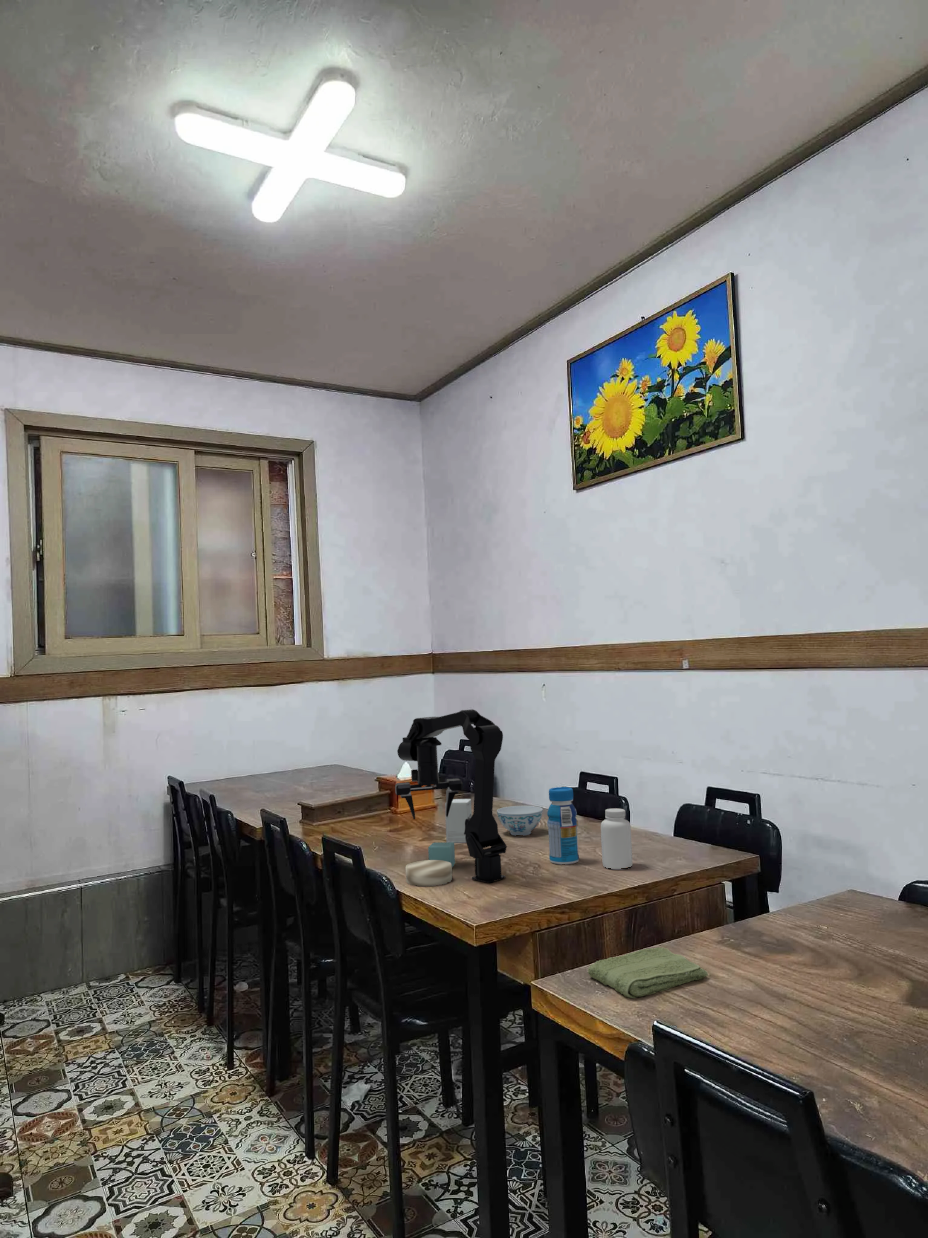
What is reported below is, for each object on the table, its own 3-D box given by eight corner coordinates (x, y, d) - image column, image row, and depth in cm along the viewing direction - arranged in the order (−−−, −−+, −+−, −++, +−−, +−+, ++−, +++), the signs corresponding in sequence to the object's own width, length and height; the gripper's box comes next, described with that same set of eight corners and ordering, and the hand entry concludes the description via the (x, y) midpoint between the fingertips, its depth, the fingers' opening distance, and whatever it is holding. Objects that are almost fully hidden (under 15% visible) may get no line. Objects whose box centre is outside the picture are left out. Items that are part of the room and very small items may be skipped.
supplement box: (468, 843, 253) (467, 802, 254) (445, 843, 255) (444, 802, 255) (473, 838, 260) (471, 798, 261) (450, 838, 262) (449, 798, 262)
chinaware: (513, 827, 275) (512, 804, 275) (552, 831, 266) (551, 807, 266) (488, 836, 263) (487, 812, 263) (528, 840, 254) (527, 815, 254)
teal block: (455, 864, 227) (454, 842, 228) (450, 869, 221) (449, 847, 222) (434, 864, 229) (433, 842, 229) (429, 869, 223) (428, 847, 223)
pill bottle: (638, 865, 217) (635, 809, 218) (622, 872, 211) (619, 813, 212) (613, 861, 222) (610, 806, 223) (596, 867, 216) (593, 811, 217)
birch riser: (461, 879, 211) (461, 864, 211) (427, 890, 202) (426, 873, 203) (430, 872, 219) (430, 858, 220) (396, 882, 211) (396, 866, 211)
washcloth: (712, 981, 139) (711, 961, 139) (630, 1004, 131) (629, 984, 131) (661, 958, 150) (660, 940, 151) (583, 978, 142) (582, 959, 143)
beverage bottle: (544, 864, 223) (540, 790, 224) (555, 857, 230) (552, 786, 231) (573, 866, 219) (569, 791, 220) (583, 859, 226) (580, 787, 228)
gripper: (456, 757, 238) (459, 811, 237) (392, 761, 235) (395, 816, 234) (461, 760, 227) (465, 817, 226) (395, 765, 224) (398, 822, 223)
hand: (430, 818), depth 227 cm, fingers open, 9 cm apart
